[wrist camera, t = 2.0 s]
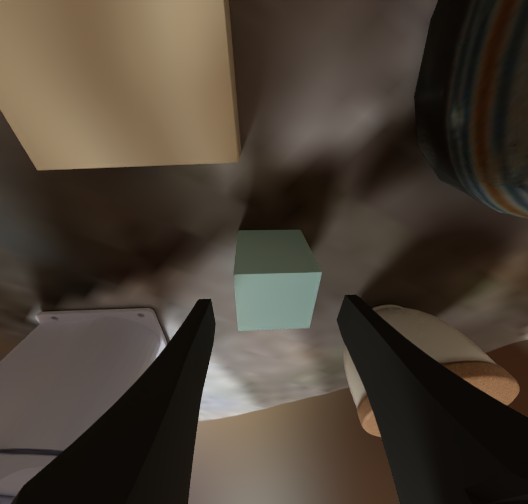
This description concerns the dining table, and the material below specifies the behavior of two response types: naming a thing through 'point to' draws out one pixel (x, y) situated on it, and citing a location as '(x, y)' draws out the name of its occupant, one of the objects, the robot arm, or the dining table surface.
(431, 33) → the beer stein
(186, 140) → the birch base block
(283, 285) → the teal block
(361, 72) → the dining table surface
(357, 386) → the lidded jar
